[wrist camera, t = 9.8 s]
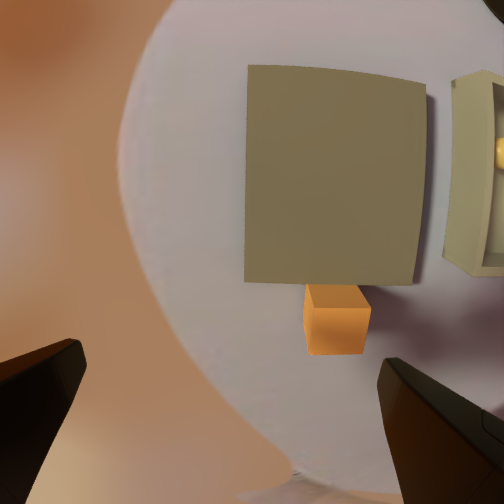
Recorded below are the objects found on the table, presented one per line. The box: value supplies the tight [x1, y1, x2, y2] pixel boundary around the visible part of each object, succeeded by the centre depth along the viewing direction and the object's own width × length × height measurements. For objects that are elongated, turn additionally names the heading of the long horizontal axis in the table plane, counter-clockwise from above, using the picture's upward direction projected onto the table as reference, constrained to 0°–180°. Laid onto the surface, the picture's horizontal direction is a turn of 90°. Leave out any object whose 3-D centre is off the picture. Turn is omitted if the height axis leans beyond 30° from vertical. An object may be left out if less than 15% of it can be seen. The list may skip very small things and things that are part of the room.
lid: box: [244, 65, 427, 355], centre depth 17 cm, size 15×10×5 cm
